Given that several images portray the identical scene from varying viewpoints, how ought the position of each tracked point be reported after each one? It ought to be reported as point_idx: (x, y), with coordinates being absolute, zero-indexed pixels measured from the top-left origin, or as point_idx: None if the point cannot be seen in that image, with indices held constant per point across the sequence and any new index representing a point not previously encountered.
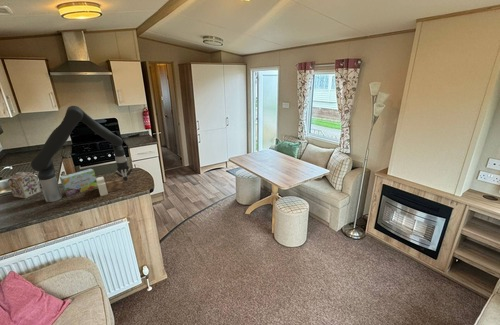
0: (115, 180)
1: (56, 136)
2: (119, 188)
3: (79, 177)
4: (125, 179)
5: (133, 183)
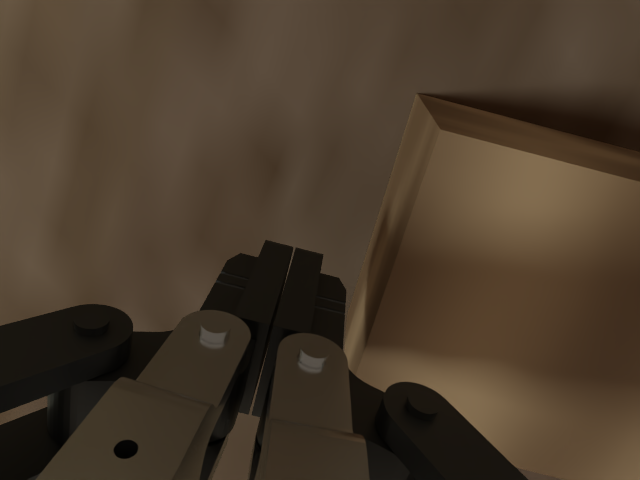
0: (517, 446)
1: None
2: (541, 127)
3: None
4: (290, 268)
5: (151, 184)
